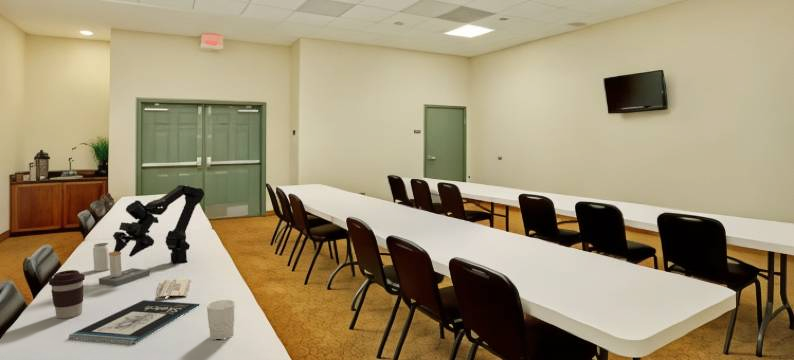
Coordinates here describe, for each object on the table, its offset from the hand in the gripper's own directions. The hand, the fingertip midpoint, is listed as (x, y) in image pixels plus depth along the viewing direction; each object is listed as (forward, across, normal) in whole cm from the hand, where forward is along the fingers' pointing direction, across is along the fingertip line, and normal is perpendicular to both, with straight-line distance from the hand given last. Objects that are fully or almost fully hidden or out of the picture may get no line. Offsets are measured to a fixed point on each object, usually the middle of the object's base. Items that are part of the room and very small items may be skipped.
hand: (122, 255), depth 192 cm
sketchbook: (+30, +45, -13) cm, 55 cm away
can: (+2, -24, +14) cm, 27 cm away
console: (+7, 0, +8) cm, 11 cm away
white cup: (+30, +79, -14) cm, 85 cm away
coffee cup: (+33, +17, -16) cm, 40 cm away
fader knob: (+8, 0, +3) cm, 9 cm away
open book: (+11, +31, +6) cm, 33 cm away
